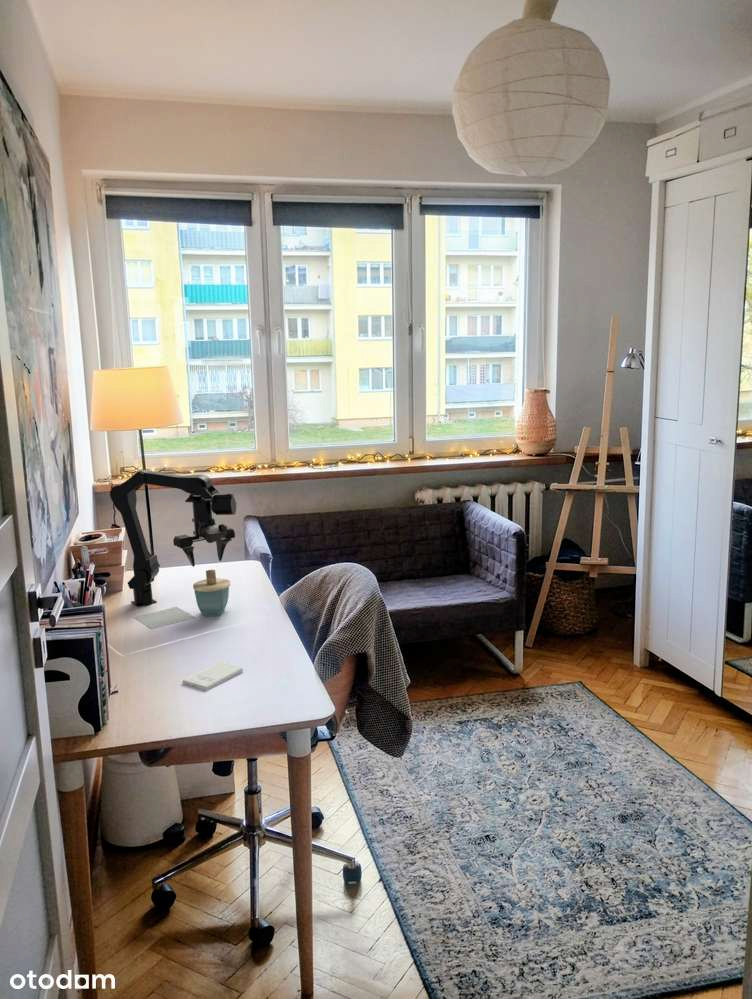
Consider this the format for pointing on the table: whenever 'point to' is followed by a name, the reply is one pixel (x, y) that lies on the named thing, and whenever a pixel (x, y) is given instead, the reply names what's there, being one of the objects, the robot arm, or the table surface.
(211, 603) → the flower pot
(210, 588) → the lid
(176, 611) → the mat
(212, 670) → the external hard drive
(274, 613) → the table surface
